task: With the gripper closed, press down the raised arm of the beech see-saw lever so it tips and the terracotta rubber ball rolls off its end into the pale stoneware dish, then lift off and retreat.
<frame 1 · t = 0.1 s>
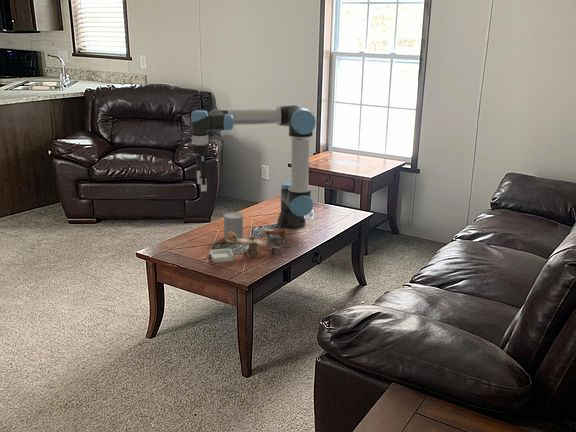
hand: (202, 187, 282), 28 cm above the table, fingers open, 13 cm apart
dish: (222, 257, 272), on the table
bull figurine: (273, 243, 290), on the table
lever: (253, 238, 273), point 8 cm above the table, hinge at -12.8°, touching ball
grey metal can: (233, 238, 296), on the table
ball: (230, 235, 270), point 11 cm above the table, touching lever
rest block: (275, 252, 279), on the table
fulcrum: (253, 254, 276), on the table
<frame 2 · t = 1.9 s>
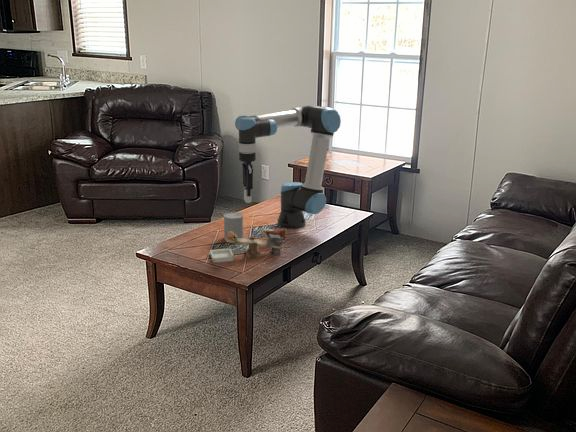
hand: (247, 201, 273), 25 cm above the table, fingers open, 3 cm apart
nothing on the table moved.
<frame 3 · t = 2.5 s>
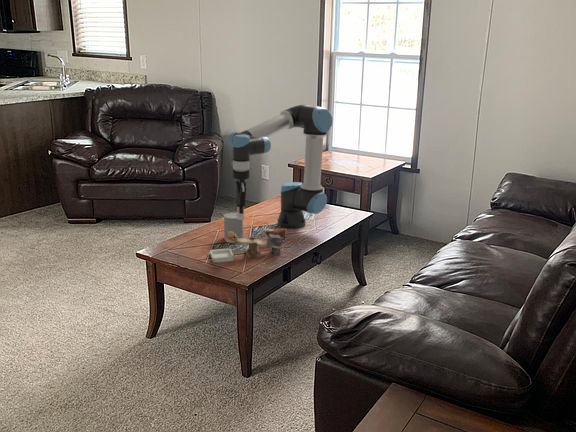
hand: (240, 219, 270), 18 cm above the table, fingers closed
nothing on the table moved.
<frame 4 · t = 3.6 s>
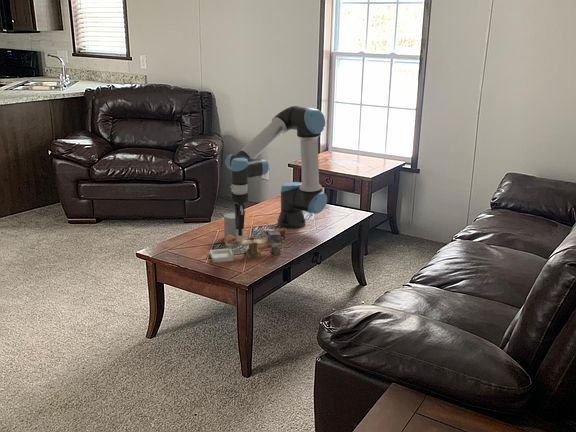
hand: (239, 241, 272), 7 cm above the table, fingers closed
lever: (253, 238, 273), point 8 cm above the table, hinge at -4.2°, touching ball, gripper
ball: (229, 238, 270), point 9 cm above the table, tilted 6°, touching lever
everything else where it was.
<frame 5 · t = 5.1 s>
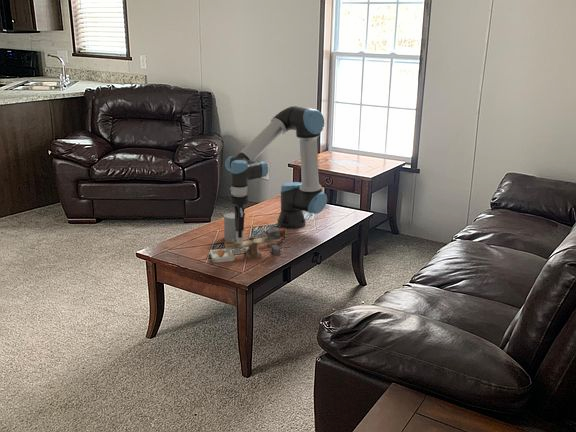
hand: (239, 243, 272), 6 cm above the table, fingers closed
lever: (252, 238, 273), point 8 cm above the table, hinge at 5.4°, touching gripper
ball: (220, 252, 271), point 2 cm above the table, tilted 179°, touching dish
everything else where it was.
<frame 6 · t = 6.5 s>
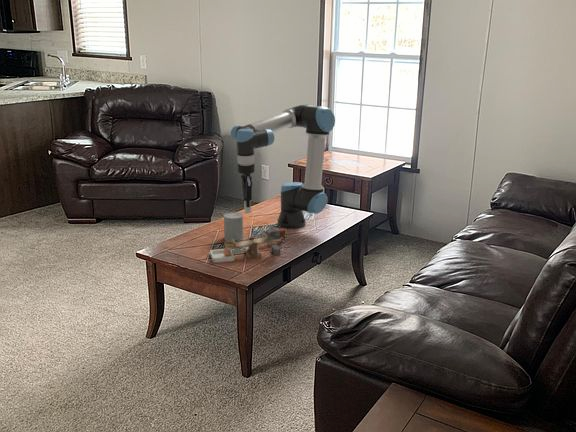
hand: (247, 212, 271), 20 cm above the table, fingers closed
lever: (252, 238, 273), point 8 cm above the table, hinge at 5.4°
ball: (226, 252, 272), point 2 cm above the table, tilted 83°, touching dish
everything else where it was.
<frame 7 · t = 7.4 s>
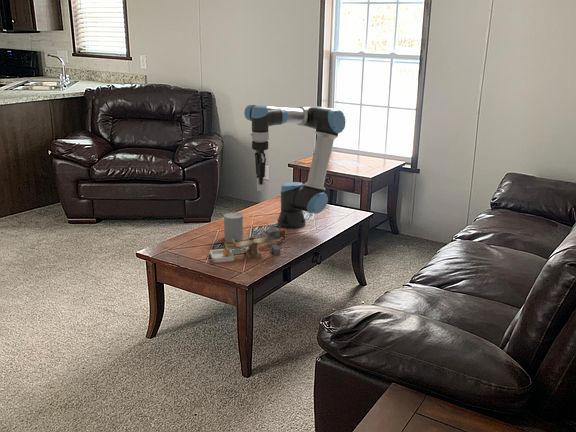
hand: (260, 190, 273), 29 cm above the table, fingers closed
ball: (226, 252, 272), point 2 cm above the table, tilted 96°, touching dish
everything else where it was.
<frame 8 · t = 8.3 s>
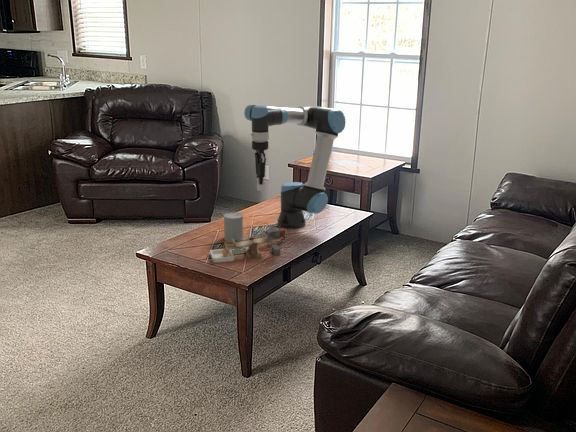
hand: (260, 190, 273), 29 cm above the table, fingers closed
ball: (225, 252, 272), point 2 cm above the table, tilted 109°, touching dish
everything else where it was.
at the end: ball inside the target area on the dish (1.5 cm from its centre), point 2.3 cm above the dish's base; ball touching dish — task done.
